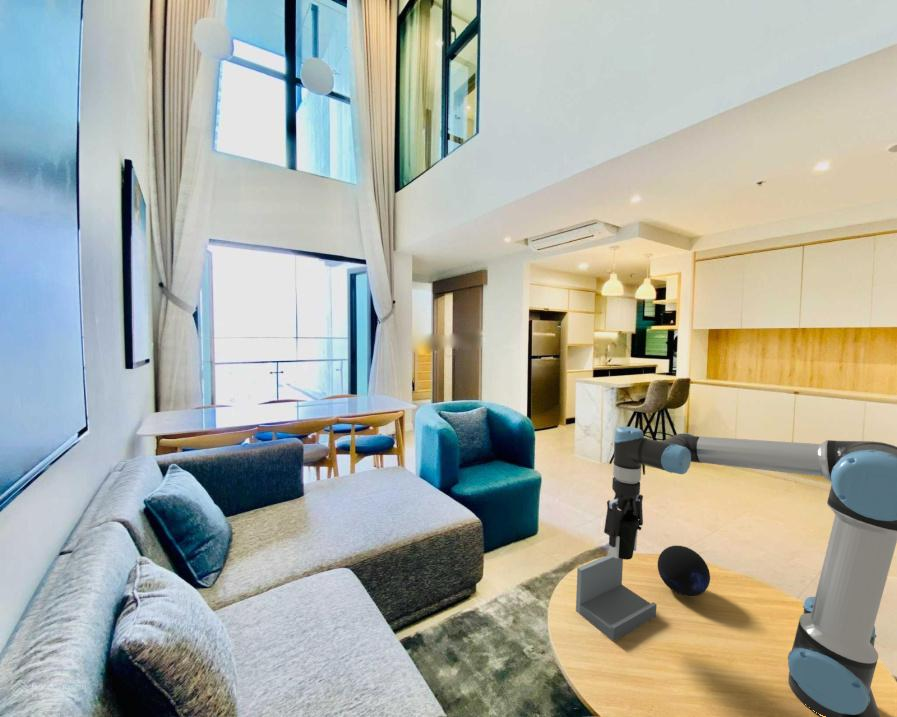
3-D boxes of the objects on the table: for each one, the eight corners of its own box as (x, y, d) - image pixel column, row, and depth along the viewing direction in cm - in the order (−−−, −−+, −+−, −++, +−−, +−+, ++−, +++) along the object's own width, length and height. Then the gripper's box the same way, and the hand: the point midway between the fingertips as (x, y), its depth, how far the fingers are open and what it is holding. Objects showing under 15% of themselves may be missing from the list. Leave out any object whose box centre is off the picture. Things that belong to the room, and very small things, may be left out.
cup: (606, 555, 113) (608, 517, 113) (611, 544, 120) (613, 507, 119) (634, 564, 109) (636, 524, 108) (638, 552, 115) (640, 514, 114)
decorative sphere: (695, 614, 117) (698, 568, 116) (647, 586, 130) (649, 544, 129) (716, 596, 125) (719, 553, 124) (670, 572, 138) (672, 532, 137)
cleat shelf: (655, 616, 116) (658, 573, 115) (613, 641, 106) (615, 594, 105) (617, 590, 127) (619, 550, 127) (575, 610, 118) (577, 567, 117)
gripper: (636, 469, 121) (632, 537, 122) (592, 480, 111) (589, 554, 112) (659, 477, 114) (654, 549, 116) (614, 490, 104) (611, 568, 106)
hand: (622, 552), depth 114 cm, fingers closed on cup, 8 cm apart
